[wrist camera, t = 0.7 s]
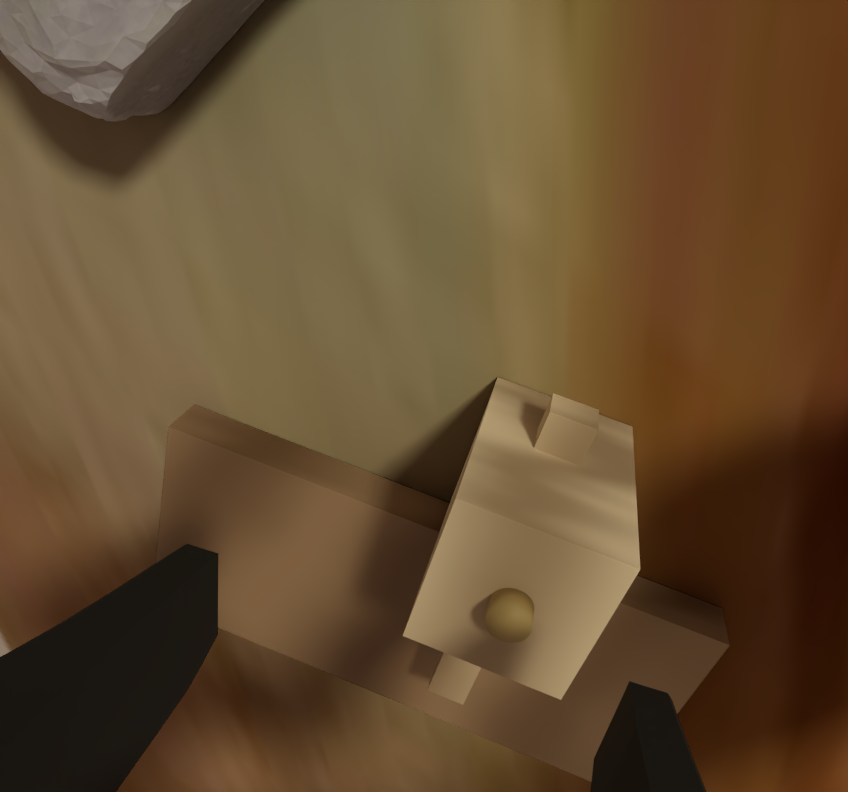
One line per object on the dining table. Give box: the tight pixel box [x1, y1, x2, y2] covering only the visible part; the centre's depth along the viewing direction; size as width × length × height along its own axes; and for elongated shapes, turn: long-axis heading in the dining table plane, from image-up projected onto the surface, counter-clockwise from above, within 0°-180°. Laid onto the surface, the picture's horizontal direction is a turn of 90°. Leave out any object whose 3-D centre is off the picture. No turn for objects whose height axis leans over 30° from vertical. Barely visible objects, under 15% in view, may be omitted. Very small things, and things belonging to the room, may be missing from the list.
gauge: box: [403, 377, 640, 705], centre depth 18 cm, size 4×11×7 cm, turn 164°
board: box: [156, 405, 730, 782], centre depth 23 cm, size 18×8×2 cm, turn 74°
